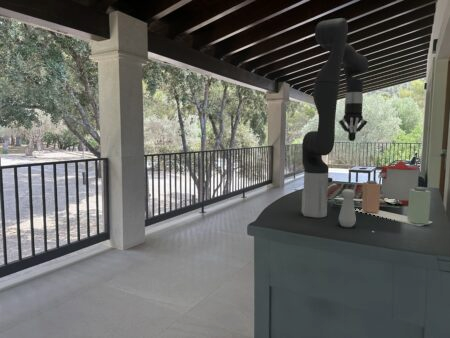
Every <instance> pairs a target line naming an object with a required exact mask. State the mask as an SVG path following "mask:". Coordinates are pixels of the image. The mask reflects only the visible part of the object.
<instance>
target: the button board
mask: <svg viewBox="0 0 450 338" xmlns="http://www.w3.org/2000/svg"><path fill="white" fill-rule="evenodd" d="M355 209H356V210H355V212H356V211H358V212H357V213H360V212H362V214H365V213H367V214H366V215H369V214H371V215H370V216H373V215H375V216H374V217H377V216H379V217H378V218H382V217H383V218H384V219H386V218H387V219H386V220H390V219H391V220H390V221H394V220H395V221H396V222H399V223H403V224H407V225H410V226H411V225H413V226H416V227H423V226H425V225H427V224H424V223H413V222H411V221H409V220H407V218H408V215H403V214H398V213H393V212H388V211H384V210H380V209H379V212H365V211H364V210H362V209H361V210H359V209H358V208H355ZM395 221H394V222H395ZM429 224H433V221H430V220H429ZM429 224H428V225H429Z"/></svg>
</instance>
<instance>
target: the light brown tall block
mask: <svg viewBox="0 0 450 338" xmlns="http://www.w3.org/2000/svg"><path fill="white" fill-rule="evenodd" d="M381 186H382V183H381V184H380V183H378V182H377V181H376V180H367V181H366V182H363V183H362V199H361V200H362V202H361V208H362V210H364V211H365V212H379V210H380V201H381V199H380V198H381V197H380V196H381Z"/></svg>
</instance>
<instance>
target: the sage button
mask: <svg viewBox="0 0 450 338" xmlns="http://www.w3.org/2000/svg"><path fill="white" fill-rule="evenodd" d="M431 194H432V192H431V191H429V190H427V188H425V187H418V188H415V189H410V190H409V204H408V205H407V206H408V208H407V216H408V218H407V220H409V221H411V222H413V223H424V224H426V225H429V221H430V210H431V196H432V195H431Z"/></svg>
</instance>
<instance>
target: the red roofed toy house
mask: <svg viewBox="0 0 450 338" xmlns="http://www.w3.org/2000/svg"><path fill="white" fill-rule="evenodd" d="M419 175H420V167H417V166H407V164H406V163H405V162H404V161H402V160H400V161H398V162H396V164H395V165H383V166H382V167H381V173H379V174H378V176H377V178H378V179H381V191H382V196H383V197H384V198H388V199H395V200H399V201H401V202H402V205H403V206H404V205H405V206H408V204H409V190H410V189H415V188H419ZM384 198H383V199H384Z"/></svg>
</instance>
